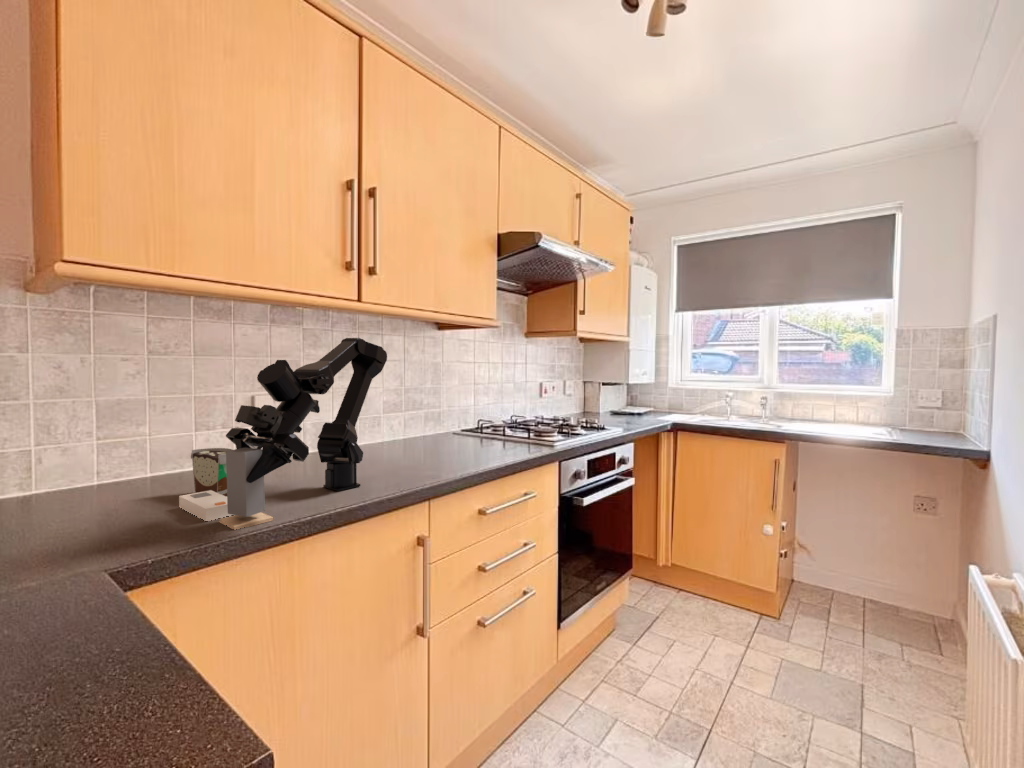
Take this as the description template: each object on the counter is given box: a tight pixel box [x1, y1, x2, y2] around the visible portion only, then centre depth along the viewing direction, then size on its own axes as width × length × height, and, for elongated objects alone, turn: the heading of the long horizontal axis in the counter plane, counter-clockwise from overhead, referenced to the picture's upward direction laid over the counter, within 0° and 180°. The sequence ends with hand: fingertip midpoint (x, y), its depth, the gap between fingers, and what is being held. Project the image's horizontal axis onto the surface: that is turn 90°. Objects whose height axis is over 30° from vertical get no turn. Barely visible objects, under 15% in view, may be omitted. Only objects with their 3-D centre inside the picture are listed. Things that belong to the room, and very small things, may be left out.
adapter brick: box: [226, 448, 266, 517], centre depth 93 cm, size 4×5×12 cm
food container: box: [190, 447, 233, 497], centre depth 113 cm, size 12×6×10 cm, turn 59°
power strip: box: [178, 490, 232, 522], centre depth 101 cm, size 6×19×3 cm, turn 52°
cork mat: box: [218, 512, 274, 531], centre depth 93 cm, size 7×7×1 cm
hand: (238, 479), depth 92 cm, fingers closed on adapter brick, 5 cm apart
